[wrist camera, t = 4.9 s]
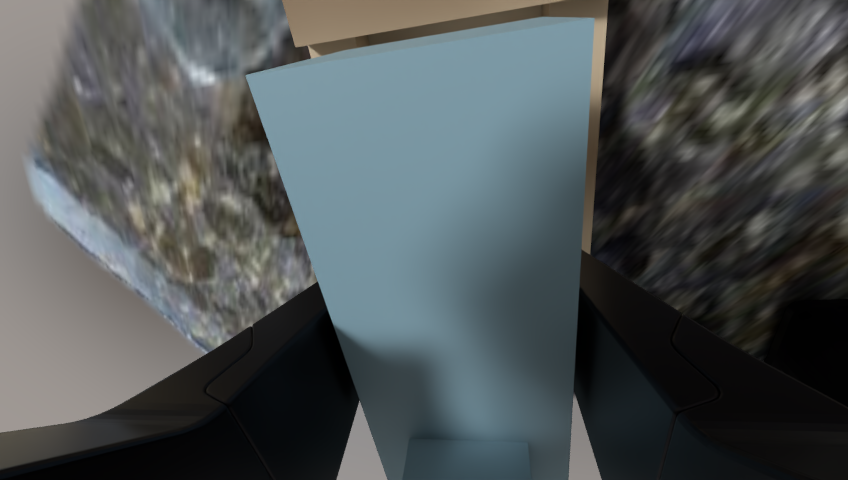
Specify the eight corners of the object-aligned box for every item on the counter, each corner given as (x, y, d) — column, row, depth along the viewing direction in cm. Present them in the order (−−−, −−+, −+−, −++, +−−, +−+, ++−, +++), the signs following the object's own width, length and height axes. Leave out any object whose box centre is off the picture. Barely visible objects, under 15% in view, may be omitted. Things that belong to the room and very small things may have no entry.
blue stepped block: (542, 354, 12) (579, 562, 7) (414, 355, 12) (377, 544, 8) (542, 16, 7) (635, 18, 3) (345, 50, 8) (177, 91, 4)
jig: (578, 257, 17) (600, 310, 14) (385, 268, 19) (366, 318, 16) (600, -130, 11) (648, -188, 8) (305, -62, 12) (247, -87, 9)
